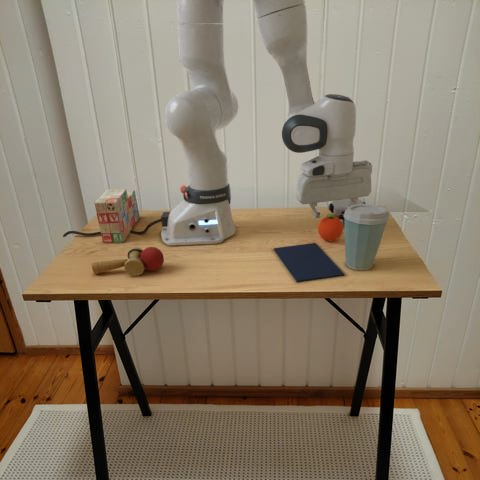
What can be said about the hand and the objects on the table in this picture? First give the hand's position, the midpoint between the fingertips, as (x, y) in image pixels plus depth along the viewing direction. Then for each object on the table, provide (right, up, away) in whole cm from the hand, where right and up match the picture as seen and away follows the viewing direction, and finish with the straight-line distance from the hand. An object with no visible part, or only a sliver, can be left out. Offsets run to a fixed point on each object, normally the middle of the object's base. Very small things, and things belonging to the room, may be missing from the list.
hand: (332, 215), depth 125 cm
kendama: (-54, -17, -8) cm, 57 cm away
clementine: (0, -6, +4) cm, 7 cm away
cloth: (-8, -14, -8) cm, 18 cm away
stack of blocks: (-62, -1, +17) cm, 65 cm away
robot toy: (+9, +2, +17) cm, 19 cm away
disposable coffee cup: (+5, -15, -10) cm, 19 cm away
